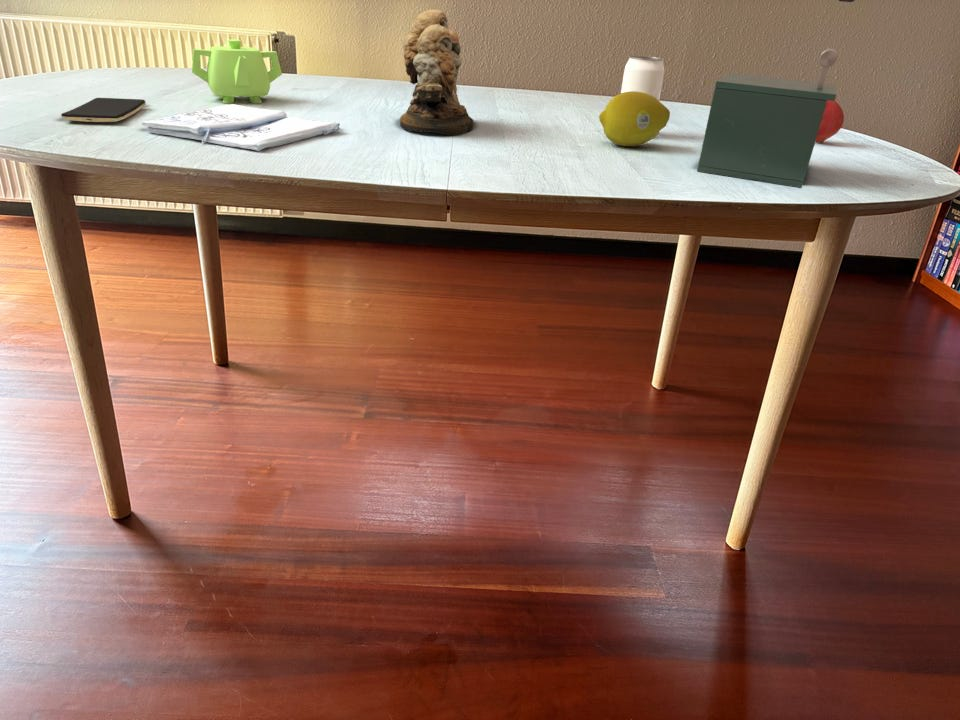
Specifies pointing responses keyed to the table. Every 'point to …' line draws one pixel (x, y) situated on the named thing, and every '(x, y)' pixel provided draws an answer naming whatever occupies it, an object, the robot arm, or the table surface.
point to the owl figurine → (434, 77)
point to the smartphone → (104, 110)
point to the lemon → (633, 118)
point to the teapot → (237, 71)
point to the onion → (830, 121)
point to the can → (643, 75)
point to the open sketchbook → (240, 127)
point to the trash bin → (760, 136)
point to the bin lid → (786, 82)
